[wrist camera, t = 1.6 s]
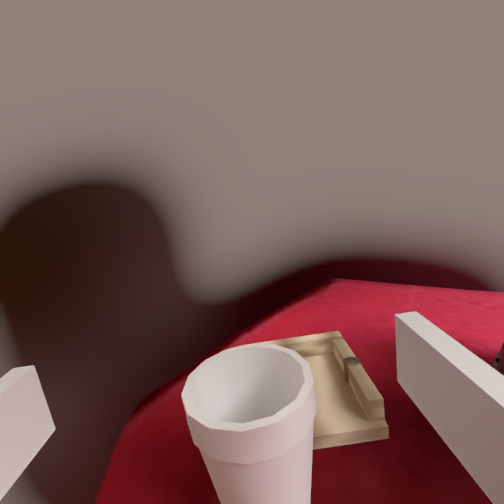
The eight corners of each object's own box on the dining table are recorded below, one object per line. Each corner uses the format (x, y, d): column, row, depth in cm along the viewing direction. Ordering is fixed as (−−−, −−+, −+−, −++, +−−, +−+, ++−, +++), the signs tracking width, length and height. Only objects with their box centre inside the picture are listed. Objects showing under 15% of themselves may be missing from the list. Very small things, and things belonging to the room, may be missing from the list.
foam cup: (222, 467, 30) (198, 349, 27) (317, 459, 29) (303, 338, 26) (203, 597, 20) (164, 438, 17) (341, 590, 20) (324, 424, 17)
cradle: (342, 354, 45) (340, 330, 44) (391, 438, 30) (389, 404, 29) (239, 370, 45) (235, 346, 44) (237, 461, 30) (231, 427, 29)
